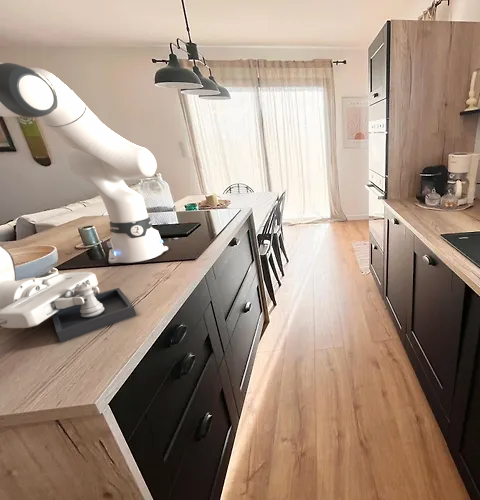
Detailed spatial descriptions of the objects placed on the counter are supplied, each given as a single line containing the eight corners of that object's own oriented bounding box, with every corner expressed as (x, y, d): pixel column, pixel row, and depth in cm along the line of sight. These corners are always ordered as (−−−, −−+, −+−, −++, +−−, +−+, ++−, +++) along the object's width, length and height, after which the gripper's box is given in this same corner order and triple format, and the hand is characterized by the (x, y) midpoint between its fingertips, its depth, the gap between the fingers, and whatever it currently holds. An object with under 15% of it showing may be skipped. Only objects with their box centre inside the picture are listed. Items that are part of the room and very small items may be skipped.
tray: (53, 316, 70) (49, 307, 69) (121, 295, 80) (118, 287, 79) (60, 342, 61) (56, 332, 60) (136, 315, 70) (133, 306, 70)
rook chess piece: (109, 310, 71) (99, 281, 68) (89, 320, 67) (77, 289, 64) (97, 307, 72) (87, 278, 70) (76, 316, 69) (65, 286, 66)
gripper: (-30, 311, 56) (49, 306, 57) (56, 268, 75) (114, 266, 76) (-16, 338, 58) (60, 332, 60) (65, 290, 77) (120, 287, 79)
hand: (91, 294), depth 68 cm, fingers closed on rook chess piece, 3 cm apart
